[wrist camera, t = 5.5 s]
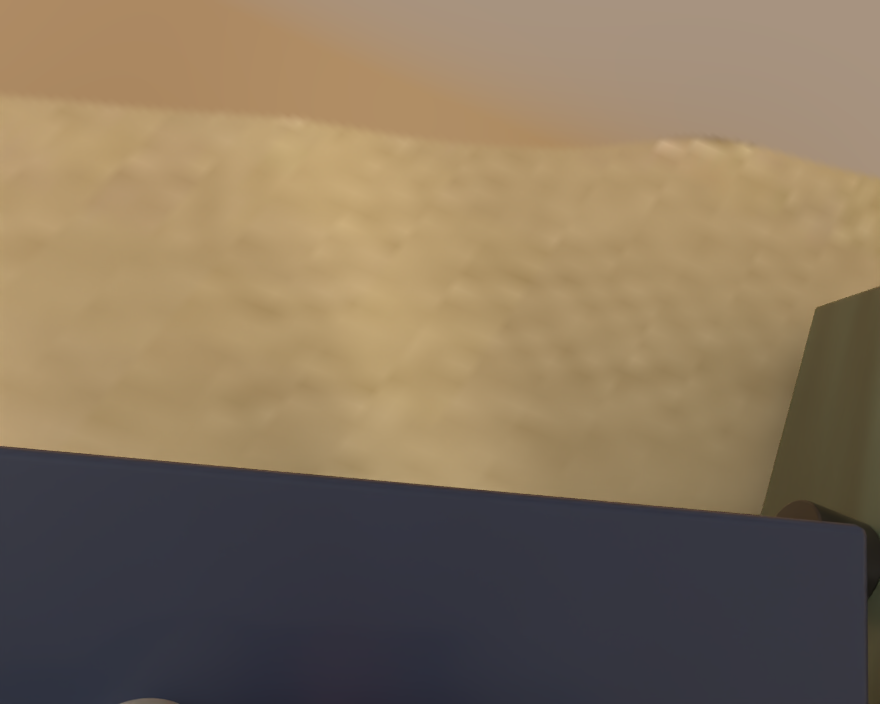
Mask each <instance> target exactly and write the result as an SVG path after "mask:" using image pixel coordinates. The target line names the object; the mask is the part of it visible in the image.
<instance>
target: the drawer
mask: <svg viewBox="0 0 880 704" xmlns="http://www.w3.org/2000/svg"><path fill="white" fill-rule="evenodd" d="M761 516H772V517H783V518H794V519H805V520H816V521H827V522H838V523H849V524H855V525H857V526H859V527H861V528H863V529H864V530H865V532H866V535H867V600H868V704H880V286H879V287H876V288H873V289H870V290H867V291H864V292H861V293H858V294H855V295H852V296H849V297H846V298H843V299H840V300H837V301H834V302H831V303H828V304H825V305H822V306H819V307H817V308H816V309H815V312H814V316H813V320H812V324H811V327H810V331H809V335H808V339H807V343H806V346H805V350H804V354H803V358H802V361H801V365H800V369H799V373H798V376H797V380H796V384H795V388H794V392H793V395H792V399H791V403H790V407H789V410H788V414H787V418H786V422H785V425H784V429H783V433H782V437H781V440H780V444H779V448H778V452H777V456H776V459H775V463H774V467H773V471H772V474H771V478H770V482H769V486H768V489H767V493H766V497H765V501H764V504H763V508H762V512H761Z"/></svg>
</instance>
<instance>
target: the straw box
mask: <svg viewBox="0 0 880 704" xmlns="http://www.w3.org/2000/svg"><path fill="white" fill-rule="evenodd" d="M0 704H868V600H867V535H866V532H865V530H864V529H863V528H861V527H859V526H857V525H855V524H849V523H838V522H827V521H816V520H805V519H794V518H783V517H772V516H761V515H750V514H739V513H728V512H717V511H706V510H695V509H684V508H673V507H662V506H651V505H640V504H629V503H619V502H608V501H597V500H586V499H575V498H564V497H553V496H542V495H531V494H520V493H509V492H498V491H487V490H476V489H465V488H454V487H443V486H432V485H421V484H410V483H399V482H388V481H377V480H366V479H355V478H344V477H333V476H323V475H312V474H301V473H290V472H279V471H268V470H257V469H246V468H235V467H224V466H213V465H202V464H191V463H180V462H169V461H158V460H147V459H136V458H125V457H114V456H103V455H92V454H81V453H70V452H59V451H48V450H38V449H27V448H16V447H5V446H0Z"/></svg>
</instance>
